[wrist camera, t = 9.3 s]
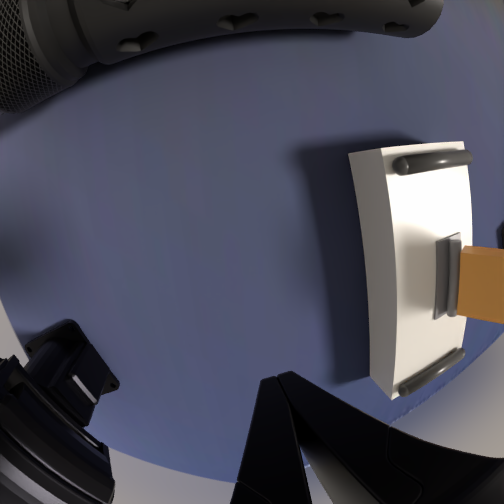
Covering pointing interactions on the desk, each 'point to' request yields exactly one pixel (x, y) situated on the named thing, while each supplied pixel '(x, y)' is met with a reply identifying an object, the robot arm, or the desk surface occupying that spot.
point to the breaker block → (412, 257)
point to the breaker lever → (476, 282)
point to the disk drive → (503, 236)
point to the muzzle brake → (163, 32)
